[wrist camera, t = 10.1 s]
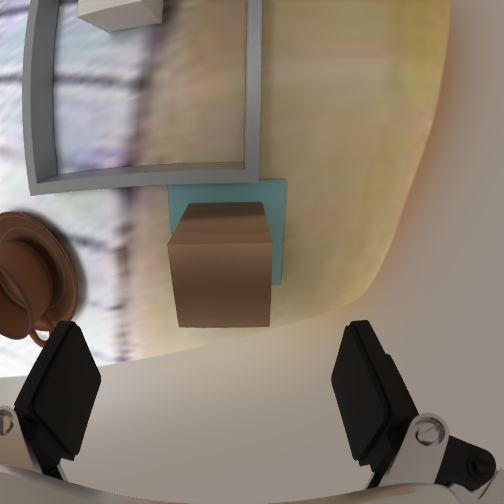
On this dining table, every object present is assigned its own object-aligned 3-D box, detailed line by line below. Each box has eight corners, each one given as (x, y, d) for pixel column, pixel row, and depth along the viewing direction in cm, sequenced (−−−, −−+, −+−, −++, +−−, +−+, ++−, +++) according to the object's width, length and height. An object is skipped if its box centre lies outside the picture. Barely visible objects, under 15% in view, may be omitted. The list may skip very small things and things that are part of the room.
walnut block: (188, 203, 21) (167, 244, 14) (262, 201, 21) (273, 243, 15) (193, 267, 23) (179, 327, 17) (260, 267, 23) (269, 326, 17)
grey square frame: (54, -14, 13) (35, -23, 10) (259, -48, 13) (262, -67, 11) (51, 185, 20) (30, 195, 17) (256, 173, 21) (258, 183, 18)
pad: (169, 180, 21) (167, 182, 20) (284, 179, 21) (286, 181, 20) (178, 281, 24) (176, 285, 23) (279, 280, 24) (280, 284, 24)
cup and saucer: (108, 269, 24) (78, 313, 18) (56, 338, 27) (32, 378, 21) (14, 177, 19) (-33, 199, 14) (-21, 264, 23) (-54, 294, 17)
